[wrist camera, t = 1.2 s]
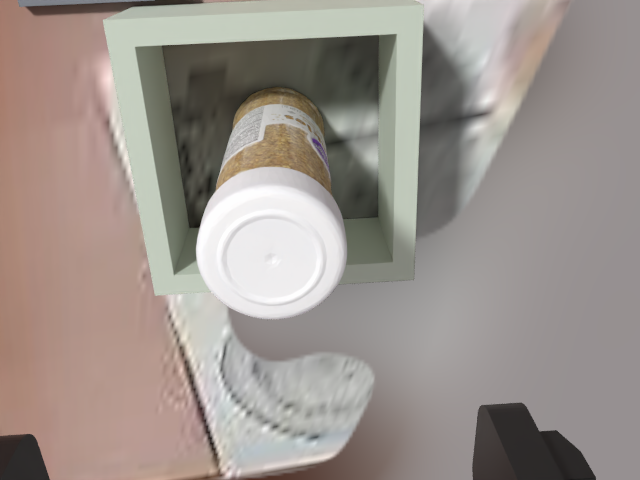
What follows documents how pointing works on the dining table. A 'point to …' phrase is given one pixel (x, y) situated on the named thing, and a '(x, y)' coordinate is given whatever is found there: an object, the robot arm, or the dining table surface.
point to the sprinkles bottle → (273, 212)
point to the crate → (257, 25)
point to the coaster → (66, 2)
